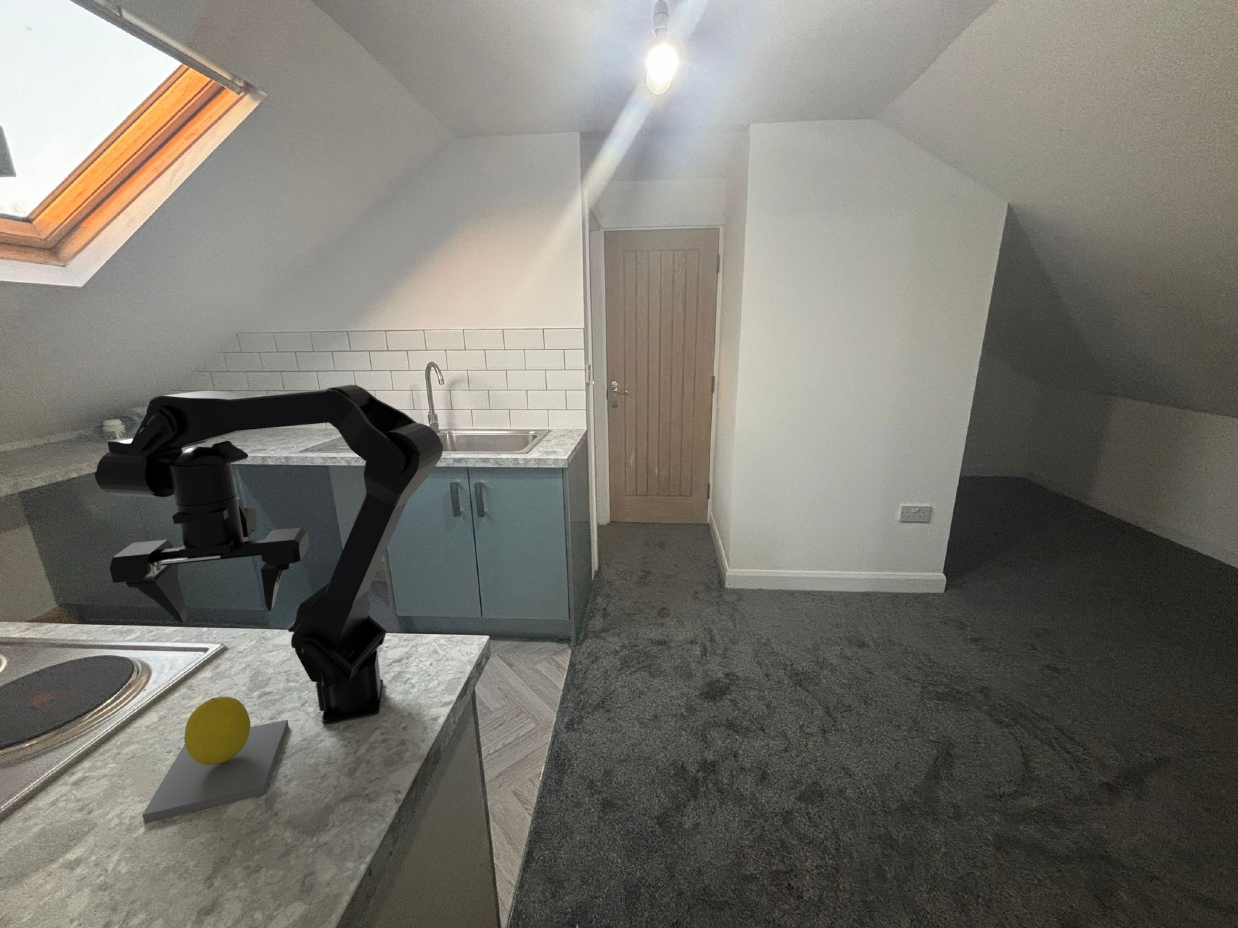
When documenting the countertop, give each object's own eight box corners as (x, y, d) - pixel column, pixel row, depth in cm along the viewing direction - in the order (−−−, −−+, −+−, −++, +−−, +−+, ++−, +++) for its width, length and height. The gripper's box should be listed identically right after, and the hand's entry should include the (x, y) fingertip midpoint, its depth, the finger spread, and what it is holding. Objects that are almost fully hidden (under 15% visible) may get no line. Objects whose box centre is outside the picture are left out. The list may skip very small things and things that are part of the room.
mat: (288, 726, 62) (287, 719, 62) (264, 793, 53) (262, 786, 52) (188, 746, 58) (187, 739, 58) (144, 822, 49) (142, 814, 49)
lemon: (222, 786, 52) (209, 722, 50) (177, 777, 53) (163, 713, 51) (267, 745, 58) (257, 685, 56) (225, 737, 58) (214, 678, 56)
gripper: (310, 475, 71) (323, 577, 74) (143, 485, 64) (167, 596, 68) (290, 499, 60) (307, 615, 64) (89, 513, 54) (121, 642, 58)
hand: (228, 615), depth 64 cm, fingers open, 9 cm apart
